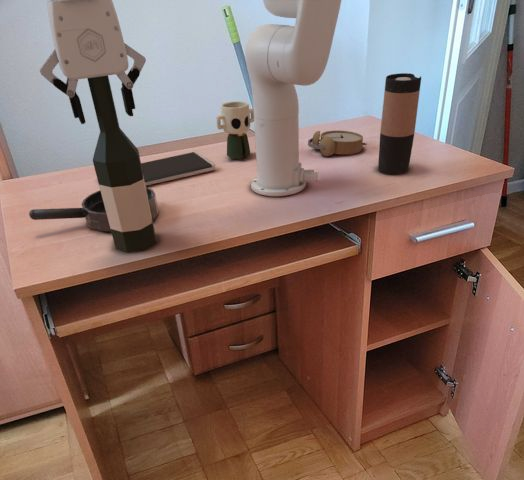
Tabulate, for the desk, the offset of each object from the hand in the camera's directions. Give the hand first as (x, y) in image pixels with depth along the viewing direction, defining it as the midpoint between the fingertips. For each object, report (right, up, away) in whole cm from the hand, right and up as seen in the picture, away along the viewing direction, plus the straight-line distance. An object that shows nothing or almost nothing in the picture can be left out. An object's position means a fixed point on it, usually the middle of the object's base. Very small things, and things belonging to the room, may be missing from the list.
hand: (106, 117), depth 83 cm
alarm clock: (+45, +15, +51) cm, 70 cm away
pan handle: (-15, -12, +19) cm, 28 cm away
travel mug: (+57, +5, +38) cm, 69 cm away
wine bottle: (+1, -18, +15) cm, 23 cm away
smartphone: (-1, +5, +43) cm, 44 cm away
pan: (-4, -10, +24) cm, 26 cm away
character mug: (+20, +13, +51) cm, 56 cm away
